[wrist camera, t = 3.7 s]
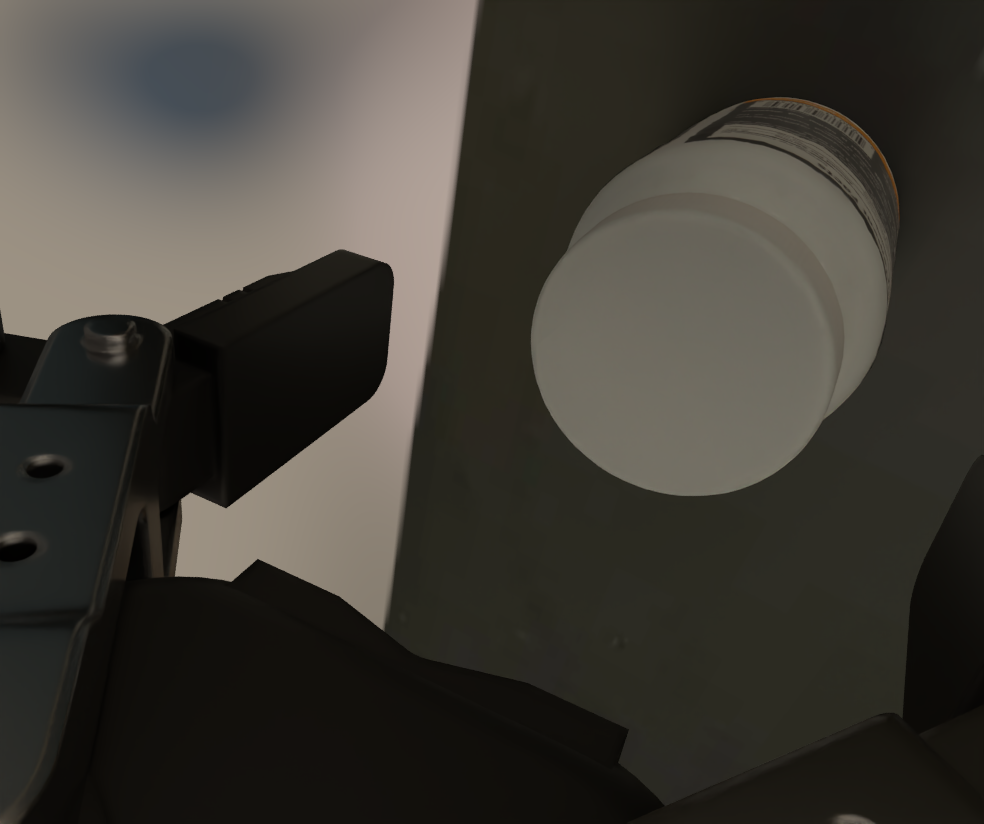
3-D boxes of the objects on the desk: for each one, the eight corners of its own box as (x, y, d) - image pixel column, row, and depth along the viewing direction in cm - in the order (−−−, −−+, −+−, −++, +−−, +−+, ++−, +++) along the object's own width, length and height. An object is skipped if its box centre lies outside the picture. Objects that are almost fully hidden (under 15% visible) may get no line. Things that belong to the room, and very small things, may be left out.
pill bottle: (718, 358, 24) (599, 565, 15) (618, 164, 22) (435, 277, 14) (943, 271, 20) (941, 474, 12) (839, 39, 19) (762, 94, 11)
